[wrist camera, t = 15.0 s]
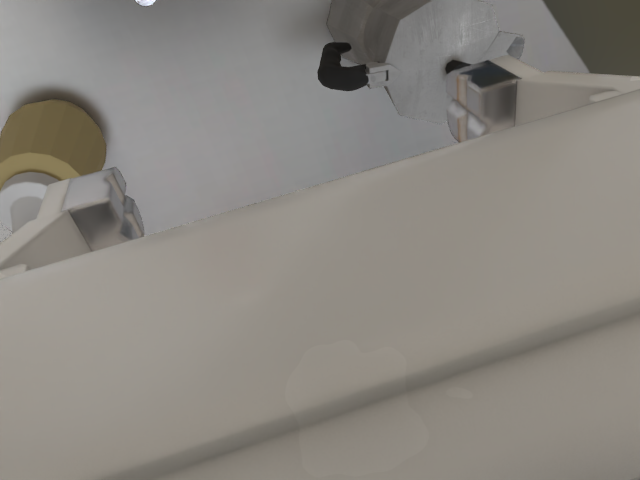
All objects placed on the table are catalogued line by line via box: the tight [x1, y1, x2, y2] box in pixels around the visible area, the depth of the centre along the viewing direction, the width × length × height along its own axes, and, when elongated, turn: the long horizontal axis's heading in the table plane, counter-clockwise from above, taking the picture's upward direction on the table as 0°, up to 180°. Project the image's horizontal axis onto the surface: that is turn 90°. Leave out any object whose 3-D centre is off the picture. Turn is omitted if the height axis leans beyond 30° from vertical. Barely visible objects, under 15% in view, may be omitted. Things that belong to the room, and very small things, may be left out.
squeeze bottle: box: [0, 99, 106, 234], centre depth 40 cm, size 8×8×18 cm
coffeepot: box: [318, 0, 524, 124], centre depth 41 cm, size 15×9×18 cm, turn 95°
